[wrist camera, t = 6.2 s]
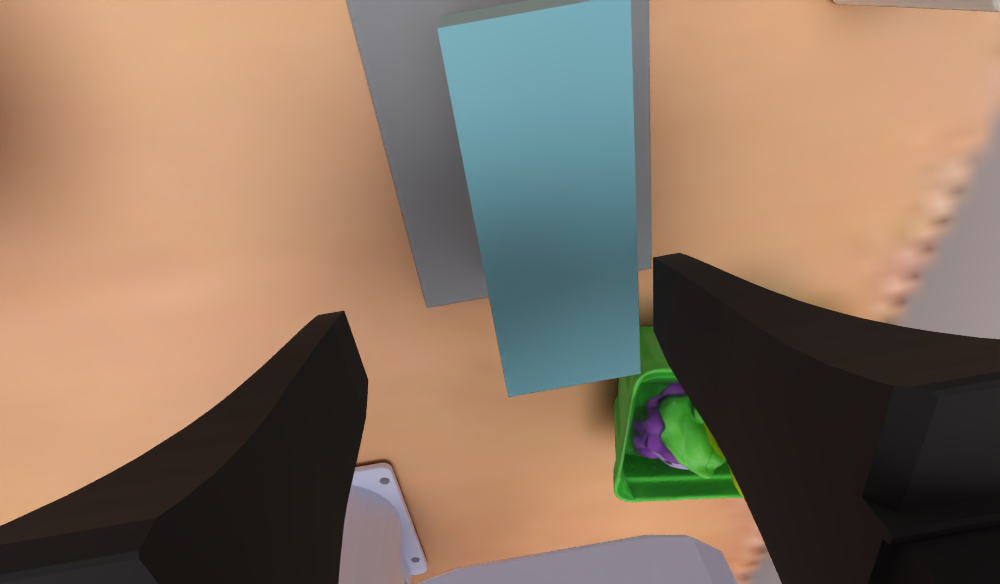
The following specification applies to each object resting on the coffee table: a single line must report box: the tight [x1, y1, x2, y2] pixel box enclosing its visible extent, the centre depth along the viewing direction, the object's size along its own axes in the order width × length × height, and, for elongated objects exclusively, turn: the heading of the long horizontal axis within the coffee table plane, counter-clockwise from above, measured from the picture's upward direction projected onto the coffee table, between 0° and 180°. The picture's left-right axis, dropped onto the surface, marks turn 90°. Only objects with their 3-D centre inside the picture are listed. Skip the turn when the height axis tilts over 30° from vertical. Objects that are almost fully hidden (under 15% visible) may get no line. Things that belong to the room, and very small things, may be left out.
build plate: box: [346, 0, 651, 308], centre depth 21 cm, size 12×10×1 cm
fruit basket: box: [614, 326, 745, 502], centre depth 22 cm, size 11×9×11 cm
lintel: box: [437, 0, 641, 397], centre depth 16 cm, size 10×4×5 cm, turn 9°
